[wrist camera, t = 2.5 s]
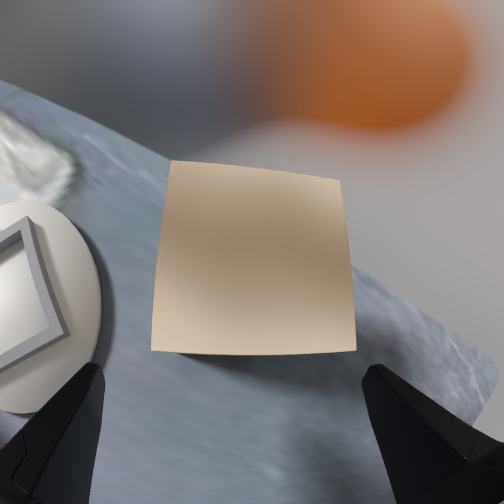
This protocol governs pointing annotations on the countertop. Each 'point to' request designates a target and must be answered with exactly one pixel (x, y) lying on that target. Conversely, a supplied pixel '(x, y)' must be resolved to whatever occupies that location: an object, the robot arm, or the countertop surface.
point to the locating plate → (43, 304)
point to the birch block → (252, 264)
